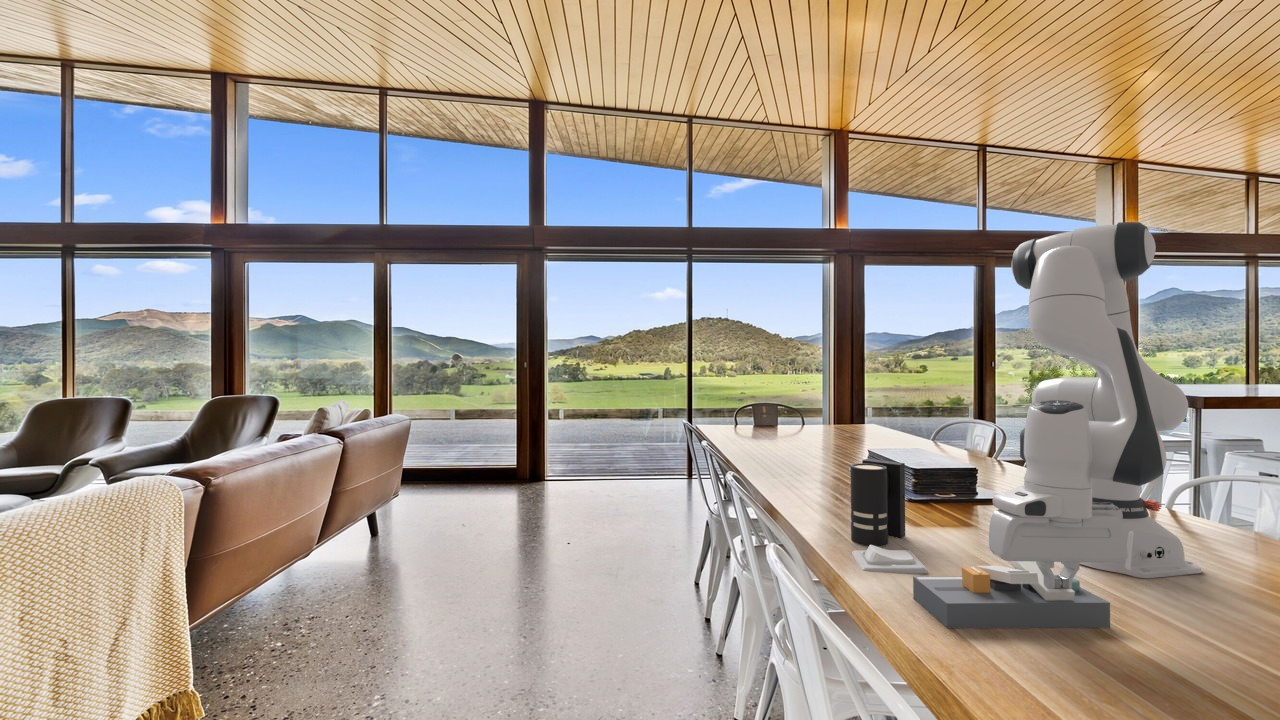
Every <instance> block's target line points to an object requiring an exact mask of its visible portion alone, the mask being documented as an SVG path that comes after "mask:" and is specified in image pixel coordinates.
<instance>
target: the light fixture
mask: <svg viewBox="0 0 1280 720" xmlns="http://www.w3.org/2000/svg"><path fill="white" fill-rule="evenodd" d="M861 462H862V463H859V462H858V463H853V464H850V529H851V530H850V539H851V541H852V542H853V543H855V544H857V545H859V546H860V545H861V546H865V547H869V546H870V545H874V546H877V547H880V548H881V547H885V546H887V545H888V544H889V537H890V538H895V539H900V540H901V539H903V538H904V537H906V479H905V478H906V477H905V476H906V474H905V473H906V472H905V469H906V467H905V463H904V462H897V461H890V460H881V459H873V458H865V459H862V461H861Z"/></svg>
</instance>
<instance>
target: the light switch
mask: <svg viewBox="0 0 1280 720" xmlns="http://www.w3.org/2000/svg"><path fill="white" fill-rule="evenodd" d="M851 555H852V556H853V558H854V560H855V561H856V563H857V565H858V566H859V568H860V570H861V571H863V572H864V571H865V572H879V573H880V572H881V573H883V572H884V573H898V574H899V573H900V574H929V569H928V568H927V567H926V566H925V565H924V564H923V563H922V562H921V560H920V559H919V558H918V557H917V556H916V555H915V554H914V553H913V551H911V550H909V549H892V550H891V549H886V548H882V547H881V546H880V547H877V546H874V545H870V546H867V549H866V550H857V549H856V550H853V551H852V552H851Z"/></svg>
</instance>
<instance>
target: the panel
mask: <svg viewBox="0 0 1280 720" xmlns="http://www.w3.org/2000/svg"><path fill="white" fill-rule="evenodd" d="M912 584H913V585H912V586H913V587H912V589H913V592H912V593H913V594H912V595H913V600H914V601H915V602H917V604H919V605H920V606H921V607H922V608H924V610H926V611H927V612H928V613H929V614H930V615H931V616H932V617H933V618H935V619H936V620H937V621H938V622H939V623H940V624H941V625H943V626H944V628H946V629H1072V628H1073V629H1077V628H1078V629H1086V628H1089V629H1091V628H1092V629H1095V628H1096V629H1097V628H1098V629H1101V628H1103V629H1106V628H1107V629H1108V628H1110V629H1111V602H1110V601H1108V600H1106V599H1104V598H1103V597H1100V596H1098V595H1097V594H1094V593H1092V592H1091V591H1089V590H1087V589H1085V588H1082V587H1080V591H1079V592H1075V595H1074V599H1073V600H1048V601H1046V600H1045V599H1044V598H1043V597H1042V596H1041V595H1040V594H1039V593H1038V592H1037V591H1036V590H1035V589H1034V588H1033V587H1032V586H1031V585H1030V584H1010V583H1006V582H1001V581H997V580H993V579H990V593H973V592H972V591H970V590H969V589H967V588H966V587H965V586H963V585H962V575H959V576H958V575H957V576H956V575H955V576H954V575H948V576H947V575H946V576H943V575H940V576H939V575H936V576H933V575H932V576H931V575H929V576H927V575H926V576H925V575H924V576H921V575H920V576H919V575H918V576H917V575H916V576H912Z"/></svg>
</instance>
